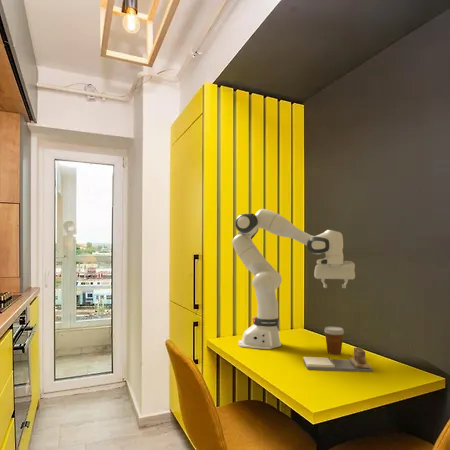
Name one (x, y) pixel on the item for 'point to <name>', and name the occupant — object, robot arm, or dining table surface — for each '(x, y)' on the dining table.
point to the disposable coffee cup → (334, 340)
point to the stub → (359, 359)
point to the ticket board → (331, 364)
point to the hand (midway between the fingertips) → (334, 287)
